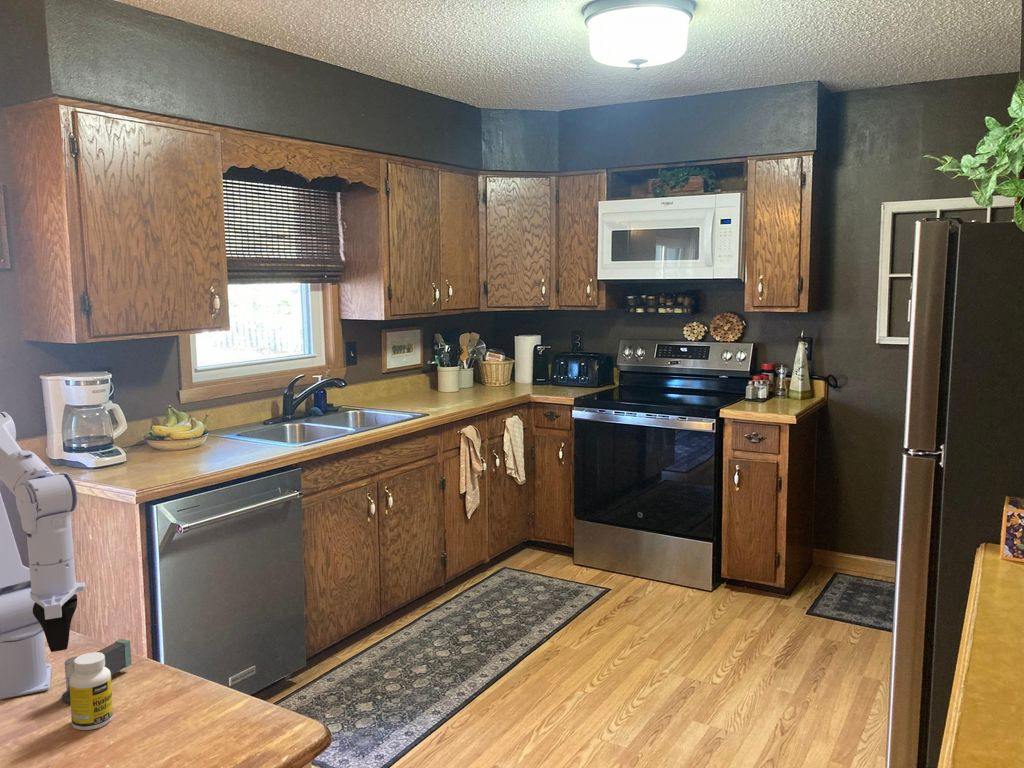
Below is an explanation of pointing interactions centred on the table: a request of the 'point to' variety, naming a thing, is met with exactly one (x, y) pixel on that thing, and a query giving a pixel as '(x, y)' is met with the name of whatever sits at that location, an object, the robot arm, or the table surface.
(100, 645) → the table surface
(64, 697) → the pivot base
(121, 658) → the swing bar
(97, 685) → the supplement bottle
